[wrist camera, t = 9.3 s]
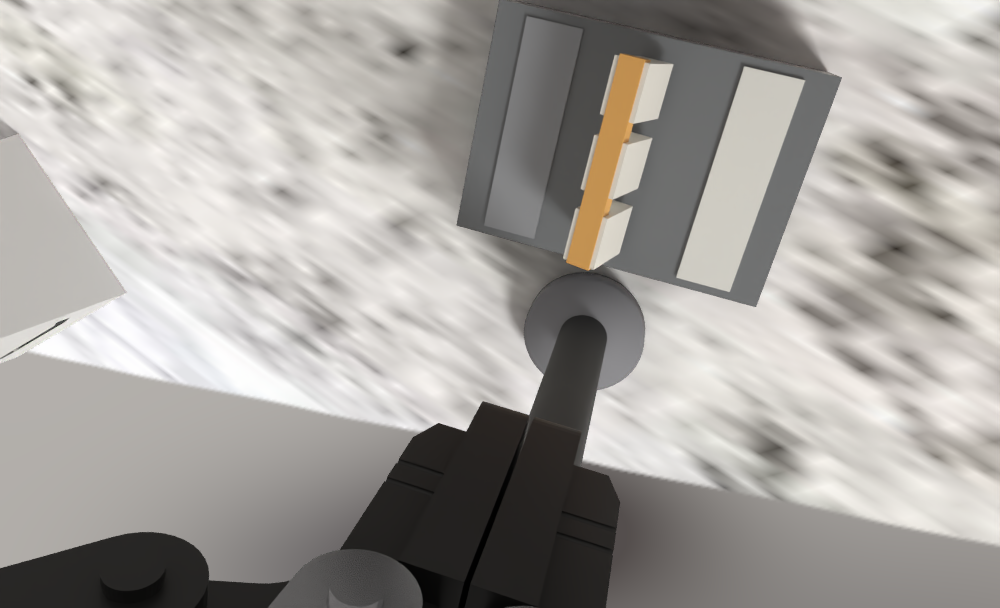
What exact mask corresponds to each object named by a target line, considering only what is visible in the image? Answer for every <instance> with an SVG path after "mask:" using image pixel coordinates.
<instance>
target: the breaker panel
mask: <svg viewBox="0 0 1000 608" xmlns="http://www.w3.org/2000/svg"><path fill="white" fill-rule="evenodd" d="M620 53H622V54H629V55H633V56H643V57H647V58H651V59H655V60H659V61H663V62H667V63H671V64H673V68H672V71H671V75H670V78H669V82H668V85H667V89H666V92H665V96H664V99H663V103H662V106H661V110H660V113H659V117H658V119H655V120H650V121H645V122H640V123H635V124H633V127H632V131H631V132H634V133H637V134H641V135H644V136H648V137H651V138H652V141H651V145H650V148H649V152H648V155H647V159H646V162H645V166H644V169H643V173H642V176H641V180H640V183H639V187H638V189H636V190H634V191H631V192H629V193H627V194H625V195H622V196H620V197H618V198H616V199H613V200H615V201H618V202H621V203H624V204H627V205H630V206H633V208H632V211H631V215H630V218H629V222H628V225H627V229H626V232H625V236H624V239H623V243H622V246H621V250H620V253H619V254H618V255H616V256H615V257H613V258H611V259H610V260H608V261H607V262H605V263H604V264H602V265H603V266H607V267H611V268H614V269H618V270H622V271H625V272H629V273H633V274H636V275H640V276H644V277H647V278H651V279H655V280H658V281H662V282H666V283H669V284H673V285H677V286H680V287H684V288H688V289H691V290H695V291H699V292H702V293H706V294H710V295H713V296H717V297H721V298H724V299H728V300H732V301H735V302H739V303H743V304H746V305H750V306H754V307H756V305H757V303H758V300H759V297H760V295H761V292H762V289H763V287H764V284H765V281H766V279H767V276H768V273H769V271H770V268H771V265H772V263H773V260H774V257H775V255H776V252H777V249H778V247H779V244H780V241H781V239H782V236H783V233H784V231H785V228H786V225H787V223H788V220H789V217H790V215H791V212H792V209H793V207H794V204H795V201H796V199H797V196H798V193H799V191H800V188H801V185H802V183H803V180H804V178H805V175H806V172H807V170H808V167H809V164H810V162H811V159H812V156H813V154H814V151H815V148H816V146H817V143H818V140H819V138H820V135H821V132H822V130H823V127H824V124H825V122H826V119H827V116H828V114H829V111H830V108H831V106H832V103H833V100H834V98H835V95H836V92H837V90H838V87H839V84H840V82H841V79H842V77H839V76H837V75H834V74H832V73H829V72H825V71H821V70H816V69H812V68H808V67H803V66H799V65H795V64H790V63H786V62H781V61H777V60H773V59H768V58H764V57H760V56H755V55H751V54H746V53H742V52H738V51H733V50H729V49H725V48H720V47H716V46H711V45H707V44H703V43H698V42H694V41H690V40H685V39H681V38H677V37H672V36H668V35H663V34H659V33H655V32H650V31H646V30H642V29H637V28H633V27H628V26H624V25H620V24H615V23H611V22H607V21H602V20H598V19H594V18H589V17H585V16H580V15H576V14H572V13H567V12H563V11H559V10H554V9H550V8H545V7H541V6H537V5H532V4H528V3H524V2H519V1H515V0H499V5H498V11H497V16H496V21H495V26H494V32H493V37H492V42H491V47H490V53H489V58H488V63H487V68H486V74H485V79H484V84H483V89H482V95H481V100H480V105H479V110H478V116H477V121H476V126H475V131H474V137H473V142H472V147H471V153H470V158H469V163H468V168H467V174H466V179H465V184H464V189H463V195H462V200H461V205H460V210H459V216H458V221H457V226H460V227H464V228H468V229H471V230H475V231H479V232H482V233H486V234H490V235H493V236H497V237H501V238H504V239H508V240H512V241H515V242H519V243H523V244H526V245H530V246H534V247H537V248H541V249H545V250H548V251H552V252H556V253H559V254H563V255H564V252H565V248H566V244H567V240H568V236H569V232H570V228H571V225H572V221H573V217H574V213H575V209H576V208H577V207H580V206H581V203H582V199H583V195H584V191H585V190H582V189H581V185H582V181H583V177H584V173H585V170H586V166H587V162H588V158H589V154H590V150H591V146H592V142H593V138H594V135H595V134H599V133H600V129H601V125H602V121H603V117H604V115H601V114H600V111H601V107H602V103H603V99H604V95H605V91H606V87H607V83H608V79H609V75H610V71H611V67H612V64H613V60H614V56H615V55H620Z"/></svg>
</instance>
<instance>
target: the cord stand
mask: <svg viewBox="0 0 1000 608" xmlns="http://www.w3.org/2000/svg"><path fill="white" fill-rule="evenodd" d="M644 337H645V322H644V317H643V314H642V311H641V308H640V306H639V304H638V303H637V301H636V299H635V298H634V297H633V295H632V294H631V293H630V292H629V291H628V290H627V289H626V288H625V287H623V286H622V285H621V284H619V283H618V282H616V281H614V280H612V279H610V278H608V277H605V276H602V275H598V274H593V273H574V274H569V275H566V276H563V277H560V278H558V279H556V280H554V281H552V282H551V283H549V284H548V285H547V286H546V287H545V288H543V289H542V291H541V292H540V293H539V294H538V295H537V297H536V298H535V300H534V302H533V304H532V306H531V308H530V310H529V313H528V315H527V318H526V321H525V327H524V339H525V345H526V348H527V351H528V353H529V356H530V358H531V359H532V361H533V363H534V364H535V365H536V367H537V368H538V369H539V370H540V371H541V372H542V373H543V374H544V376H543V379H542V382H541V384H540V387H539V390H538V393H537V396H536V398H535V401H534V404H533V407H532V409H531V412H530V421H529V426H528V430H527V434H528V431H529V429H530V426H531V423H532V421H533V418H534V417H537V418H540V419H544V420H547V421H550V422H553V423H557V424H560V425H563V426H567V427H570V428H573V429H576V430H580V431H582V433H581V437H580V441H579V445H578V449H577V453H576V457H575V461H574V465H576V466H579V467H581V463H582V459H583V454H584V449H585V444H586V439H587V435H588V430H589V425H590V420H591V415H592V411H593V406H594V401H595V396H596V391H597V390H600V389H604V388H608V387H610V386H613V385H615V384H617V383H618V382H620V381H622V380H623V379H624V378H626V377H627V376H628V375H629V374H630V373H631V372H632V371H633V369H634V368H635V367H636V365H637V363H638V361H639V360H640V357H641V354H642V351H643V346H644ZM527 434H526V437H527ZM525 439H526V438H525Z"/></svg>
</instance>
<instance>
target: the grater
mask: <svg viewBox="0 0 1000 608" xmlns="http://www.w3.org/2000/svg"><path fill="white" fill-rule="evenodd" d="M126 293H127V292H126V291H125V289H124V288H123V286H122V285H121V283H120V282H119V280H118V279H117V277H116V276H115V274H114V273H113V272H112V270H111V269H110V267H109V266H108V264H107V263H106V261H105V260H104V258H103V257H102V255H101V254H100V252H99V251H98V249H97V248H96V246H95V245H94V244H93V242H92V241H91V239H90V238H89V236H88V235H87V233H86V232H85V230H84V229H83V227H82V226H81V224H80V223H79V221H78V220H77V219H76V217H75V216H74V214H73V213H72V211H71V210H70V208H69V207H68V205H67V204H66V202H65V201H64V199H63V198H62V196H61V195H60V194H59V192H58V191H57V189H56V188H55V186H54V185H53V183H52V182H51V180H50V179H49V177H48V176H47V174H46V173H45V171H44V170H43V169H42V167H41V166H40V164H39V163H38V161H37V160H36V158H35V157H34V155H33V154H32V152H31V151H30V149H29V148H28V146H27V145H26V144H25V142H24V141H23V139H22V138H21V136H20V135H19V134H16V135H13V136H10V137H7V138H4V139H1V140H0V363H2V362H5V361H8V360H10V359H13V358H16V357H18V356H20V355H22V354H23V353H25V352H27V351H29V350H30V349H32V348H34V347H35V346H37V345H39V344H40V343H42V342H44V341H46V340H47V339H49V338H51V337H52V336H54V335H56V334H58V333H59V332H61V331H63V330H64V329H66V328H68V327H70V326H71V325H73V324H75V323H76V322H78V321H80V320H81V319H83V318H85V317H87V316H88V315H90V314H92V313H93V312H95V311H97V310H99V309H100V308H102V307H104V306H105V305H107V304H109V303H111V302H112V301H114V300H116V299H117V298H119V297H121V296H122V295H124V294H126ZM68 318H69V319H68ZM65 319H68V320H67V321H66V322H64V323H63V324H61V325H59V326H57V327H56V328H54V329H52V330H51V331H49V332H47V333H46V334H44V335H42V336H40V337H39V338H37V339H35V340H34V341H32V342H30V343H29V344H27V345H25V346H24V347H22V348H20V349H18V350H17V351H15V352H14V351H13V350H15V349H16V348H18V347H20V346H21V345H23V344H25V343H26V342H28V341H30V340H31V339H33V338H35V337H36V336H38V335H40V334H41V333H43V332H45V331H46V330H48V329H50V328H51V327H53V326H55V324H56V322H59V321H62V320H65Z"/></svg>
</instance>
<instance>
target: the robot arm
mask: <svg viewBox="0 0 1000 608" xmlns="http://www.w3.org/2000/svg"><path fill="white" fill-rule="evenodd" d="M529 421H530V415H527V414H523V413H520V412H517V411H513V410H510V409H507V408H504V407H500V406H497V405H494V404H490V403H487V402H484V401H483V402H482V403H481V405H480V407H479V409H478V411H477V413H476V414H475V416H474V418H473V420H472V422H471V424H470V426H469V428H468V430H467V431H462V430H459V429H456V428H453V427H449V426H446V425H443V424H440V423H438V424H436V425H434V426H432V427H431V428H429V429H427V430H425V431H423V432H422V433H420V434H418V435H416V436H414V437H413V438H412V440H411V441H410V443H409V444H408V446H407V447H406V449H405V451H404V452H403V454H402V455H401V457H400V458H399V461H398V463H396V464H395V466H394V468H393V469H392V471H391V472H390V473H389V475H388V477H387V480H386V482H384V483H383V484H382V486H381V487H380V489H379V490H378V492H377V494H376V495H375V497H374V498H373V500H372V501H371V503H370V504H369V506H368V507H367V509H366V511H365V512H364V514H363V515H362V517H361V518H360V520H359V522H358V523H357V524H356V526H355V527H354V529H353V530H352V532H351V534H350V535H349V537H348V538H347V540H346V541H345V543H344V544H343V546H342V547H341V549H340V550H338V551H332V552H329V553H326V554H323V555H320V556H318V557H317V558H314V559H312V560H311V561H310V562H308V563H307V564H305V565H304V566H303V567H302V568H301V569H300V570H299V571H298V572H297V573H296V574H295V576H294V577H293V578H292V579H291V580H290V581H287V582H280V583H271V584H258V583H241V582H226V581H210V580H209V571H208V565H207V563H206V560H205V558H204V557H203V556H202V554H201V552H200V551H199V550H198V549H197V548H195V547H194V546H193V545H192V544H190V543H189V542H187V541H185V540H183V539H181V538H178V537H175V536H172V535H167V534H163V533H154V532H139V533H130V534H124V535H120V536H115V537H111V538H108V539H104V540H100V541H97V542H93V543H90V544H86V545H82V546H79V547H75V548H72V549H68V550H65V551H61V552H58V553H54V554H50V555H47V556H43V557H40V558H36V559H32V560H29V561H25V562H21V563H18V564H14V565H11V566H7V567H3V568H0V608H606V601H607V594H608V586H609V579H610V572H611V564H612V557H613V556H612V553H613V550H614V543H615V535H616V533H615V532H616V528H617V520H618V513H619V506H620V501H619V499H618V496H617V494H616V492H615V490H614V487H613V485H612V483H611V480H610V478H609V476H607V475H604V474H601V473H598V472H595V471H592V470H588V469H585V468H582V467H579V466H576V465H574V461H575V457H576V453H577V449H578V445H579V441H580V437H581V433H582V431H580V430H576V429H573V428H570V427H567V426H563V425H560V424H557V423H553V422H550V421H547V420H544V419H540V418H537V417H534V418H533V421H532V423H531V426H530V429H529V431H528V434H527V430H528V426H529ZM526 434H527V437H526ZM525 438H526V439H525Z"/></svg>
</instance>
